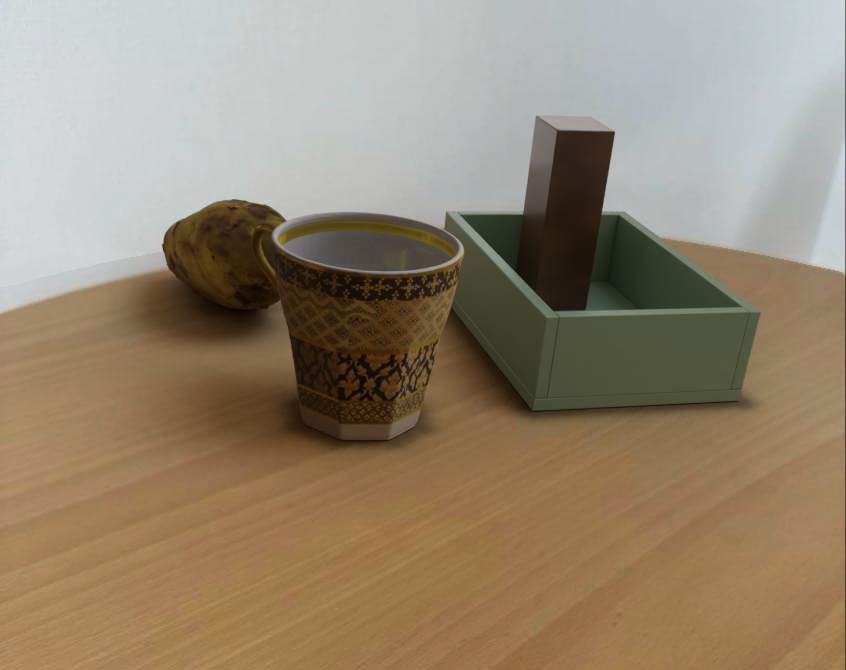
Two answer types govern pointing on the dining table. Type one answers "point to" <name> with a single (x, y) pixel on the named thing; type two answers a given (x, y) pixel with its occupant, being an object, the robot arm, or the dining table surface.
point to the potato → (223, 253)
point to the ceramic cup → (361, 314)
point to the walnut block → (564, 208)
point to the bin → (604, 320)
